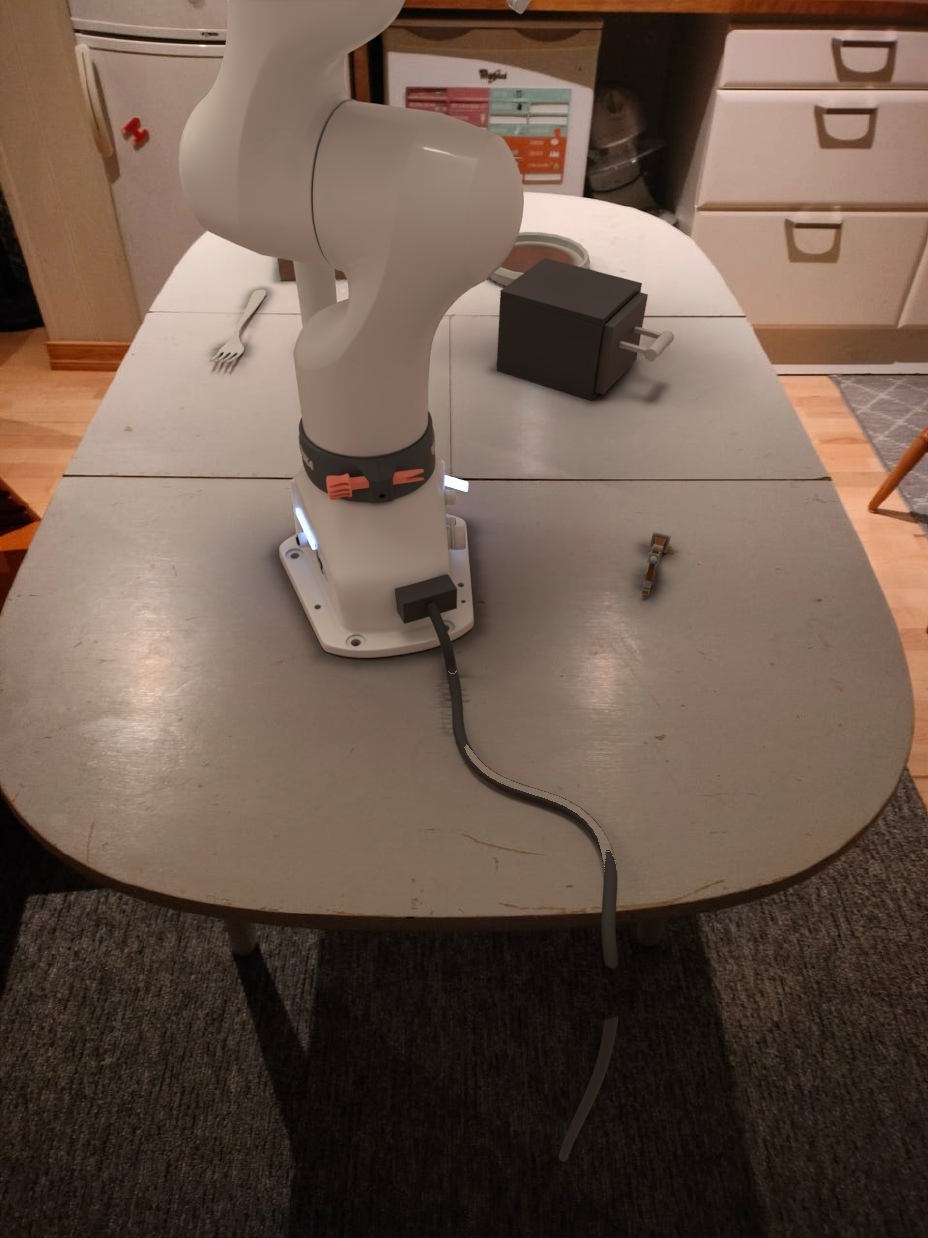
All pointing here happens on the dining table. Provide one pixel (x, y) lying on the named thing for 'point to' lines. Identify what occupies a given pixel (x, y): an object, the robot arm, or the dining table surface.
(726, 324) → the dining table surface
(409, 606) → the robot arm
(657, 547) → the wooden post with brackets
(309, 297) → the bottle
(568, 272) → the drawer box
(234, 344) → the fork
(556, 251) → the frying pan
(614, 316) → the dark grey drawer
